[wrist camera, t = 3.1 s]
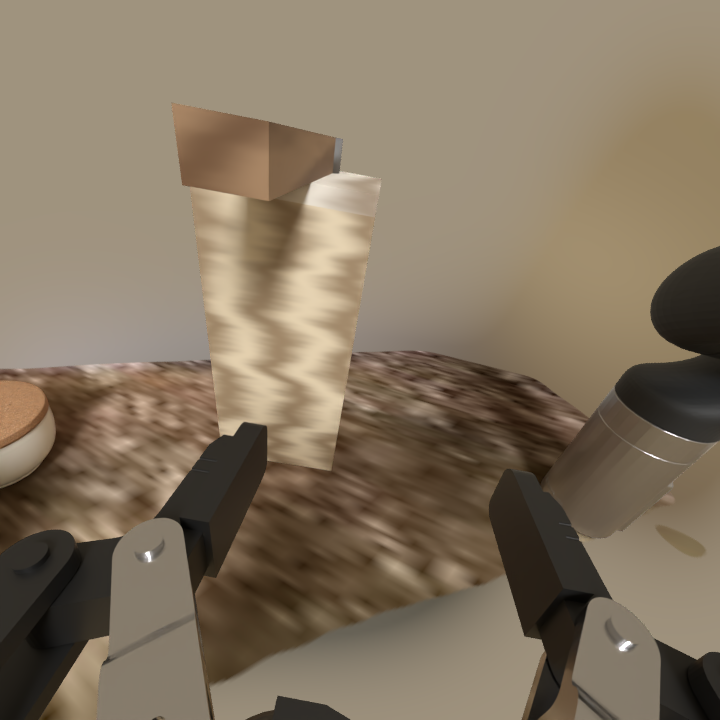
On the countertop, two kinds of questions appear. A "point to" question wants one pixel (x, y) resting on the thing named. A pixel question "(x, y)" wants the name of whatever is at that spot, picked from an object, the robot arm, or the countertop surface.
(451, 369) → the countertop surface
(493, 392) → the countertop surface
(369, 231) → the stand
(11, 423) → the lidded jar
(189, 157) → the tan wooden plank
